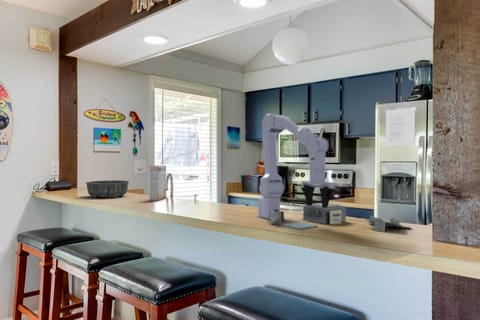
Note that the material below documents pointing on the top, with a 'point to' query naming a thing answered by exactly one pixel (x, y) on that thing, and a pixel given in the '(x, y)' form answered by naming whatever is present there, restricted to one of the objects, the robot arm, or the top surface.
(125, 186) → the bundt pan
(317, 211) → the box
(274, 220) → the cylinder
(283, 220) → the rubber block
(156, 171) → the cracker box
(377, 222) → the metal bracket
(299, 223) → the pad
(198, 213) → the top surface
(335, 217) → the label tile
